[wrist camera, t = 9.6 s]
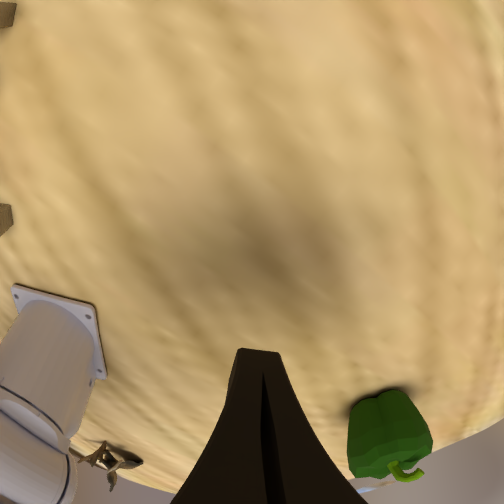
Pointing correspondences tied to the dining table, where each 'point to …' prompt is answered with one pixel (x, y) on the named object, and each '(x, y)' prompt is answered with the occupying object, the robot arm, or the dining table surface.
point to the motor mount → (3, 17)
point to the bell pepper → (387, 437)
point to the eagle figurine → (109, 463)
